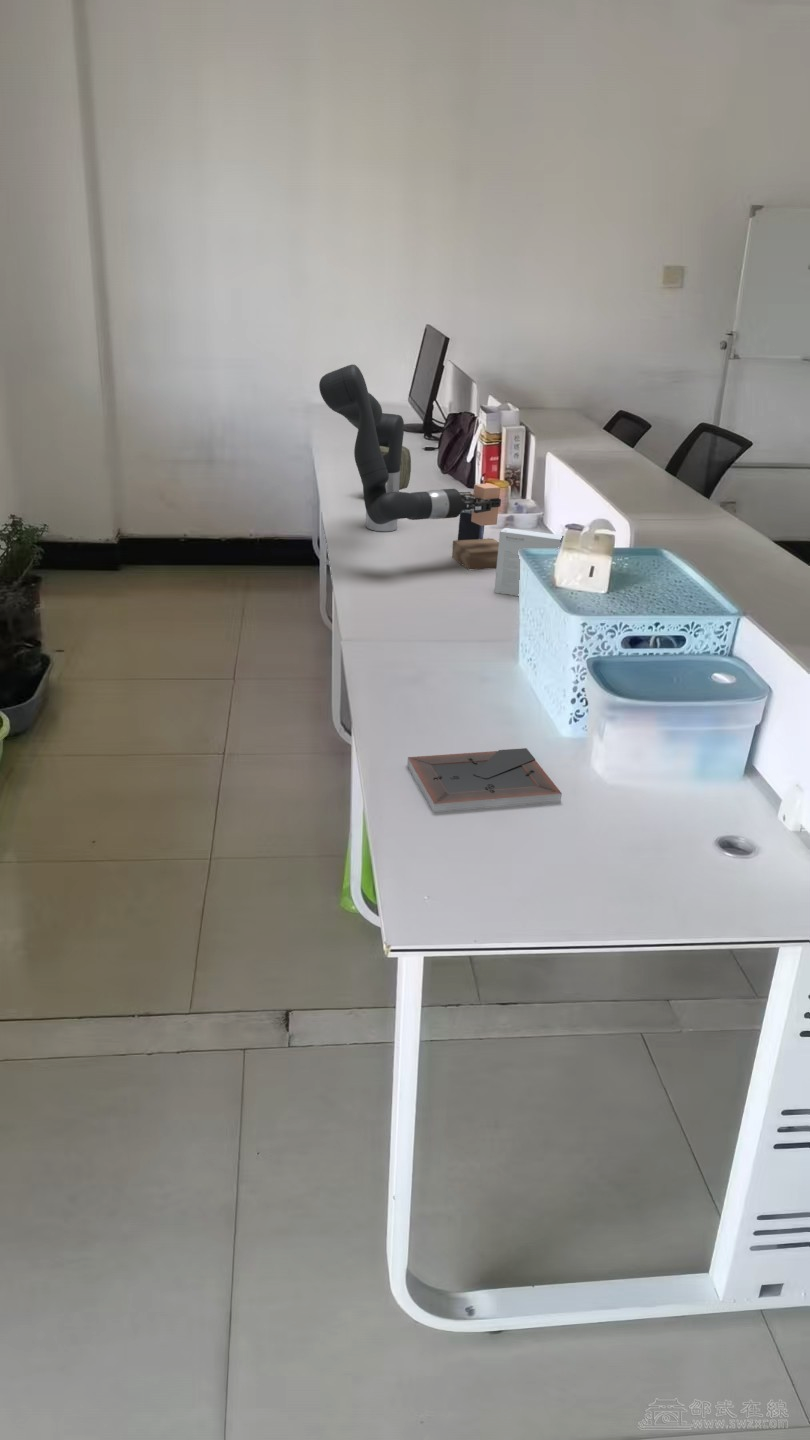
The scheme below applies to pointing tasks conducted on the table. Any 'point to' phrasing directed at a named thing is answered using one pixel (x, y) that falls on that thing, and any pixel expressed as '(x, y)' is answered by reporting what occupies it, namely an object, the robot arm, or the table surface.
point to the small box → (469, 527)
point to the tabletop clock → (402, 466)
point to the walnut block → (476, 553)
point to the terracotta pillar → (486, 493)
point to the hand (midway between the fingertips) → (493, 500)
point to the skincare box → (509, 555)
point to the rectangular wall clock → (482, 780)
